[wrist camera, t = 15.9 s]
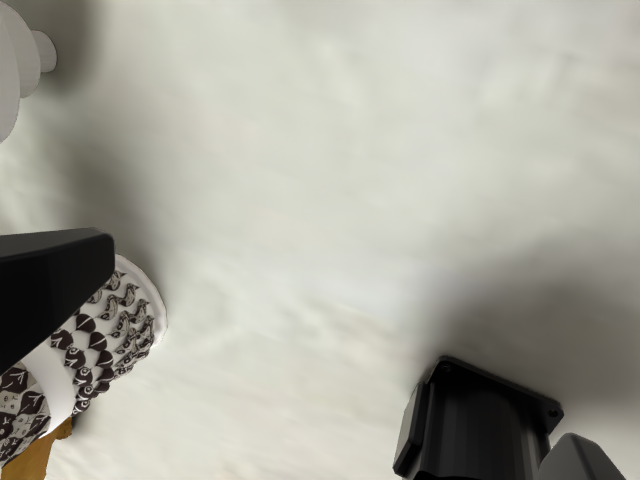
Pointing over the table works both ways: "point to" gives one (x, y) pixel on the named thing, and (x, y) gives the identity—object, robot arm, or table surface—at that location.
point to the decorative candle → (80, 358)
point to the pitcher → (35, 456)
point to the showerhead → (20, 64)
